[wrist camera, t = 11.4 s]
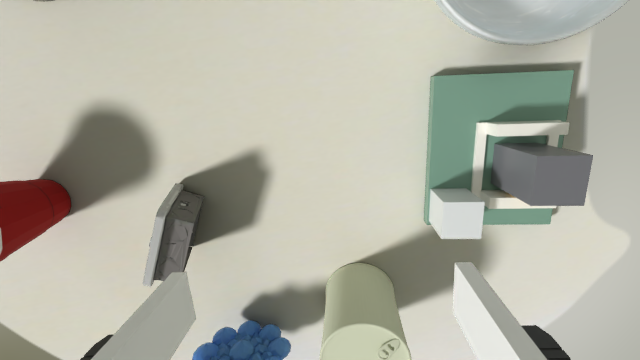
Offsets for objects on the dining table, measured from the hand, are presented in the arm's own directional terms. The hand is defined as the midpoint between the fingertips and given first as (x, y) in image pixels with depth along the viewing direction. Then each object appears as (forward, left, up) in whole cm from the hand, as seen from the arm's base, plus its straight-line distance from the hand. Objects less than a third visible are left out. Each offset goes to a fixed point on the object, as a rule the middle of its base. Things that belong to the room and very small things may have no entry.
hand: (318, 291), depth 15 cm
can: (+16, +3, -24) cm, 30 cm away
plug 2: (-1, +20, -23) cm, 30 cm away
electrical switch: (+5, -19, -24) cm, 31 cm away
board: (-3, +18, -24) cm, 30 cm away
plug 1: (+3, +13, -23) cm, 26 cm away
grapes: (+22, -12, -24) cm, 35 cm away
